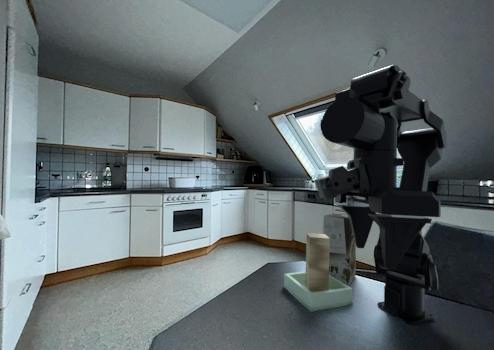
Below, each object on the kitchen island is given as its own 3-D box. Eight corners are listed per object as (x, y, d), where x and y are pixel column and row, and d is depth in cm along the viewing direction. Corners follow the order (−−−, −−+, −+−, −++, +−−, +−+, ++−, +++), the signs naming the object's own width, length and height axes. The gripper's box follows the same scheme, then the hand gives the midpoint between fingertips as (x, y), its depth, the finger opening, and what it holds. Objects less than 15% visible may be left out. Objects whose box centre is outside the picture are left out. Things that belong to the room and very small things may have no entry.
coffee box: (348, 288, 51) (350, 218, 51) (320, 280, 55) (322, 215, 55) (356, 276, 58) (357, 214, 59) (331, 269, 62) (332, 212, 63)
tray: (320, 282, 53) (320, 269, 53) (352, 304, 44) (353, 288, 44) (283, 287, 50) (284, 273, 50) (310, 311, 41) (310, 295, 41)
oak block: (323, 288, 49) (324, 234, 49) (328, 297, 45) (329, 238, 45) (305, 287, 49) (306, 233, 50) (308, 296, 45) (309, 237, 46)
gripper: (309, 159, 44) (307, 238, 43) (338, 139, 25) (336, 278, 24) (368, 160, 43) (366, 242, 42) (444, 141, 24) (444, 287, 23)
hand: (372, 256), depth 33 cm, fingers open, 9 cm apart
